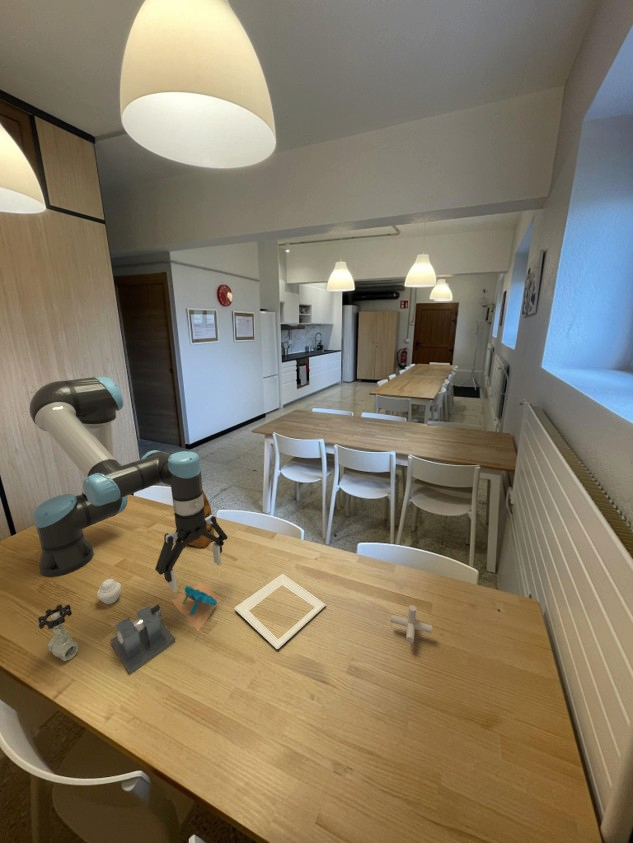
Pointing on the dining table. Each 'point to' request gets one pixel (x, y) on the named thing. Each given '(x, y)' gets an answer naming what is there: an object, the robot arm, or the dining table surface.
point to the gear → (197, 598)
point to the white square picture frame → (267, 590)
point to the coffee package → (204, 540)
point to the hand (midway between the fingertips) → (196, 575)
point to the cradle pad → (201, 610)
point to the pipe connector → (411, 624)
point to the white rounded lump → (109, 591)
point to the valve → (59, 633)
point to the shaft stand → (141, 638)
